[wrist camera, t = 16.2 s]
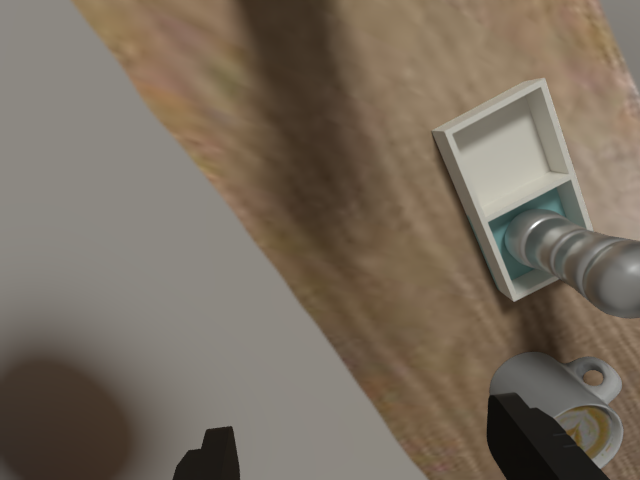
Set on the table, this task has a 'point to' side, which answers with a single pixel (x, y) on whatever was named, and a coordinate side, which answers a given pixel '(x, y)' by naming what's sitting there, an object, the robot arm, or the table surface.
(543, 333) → the table surface
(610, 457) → the coffee mug
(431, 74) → the table surface
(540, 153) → the divided tray
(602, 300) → the grey metal bottle
